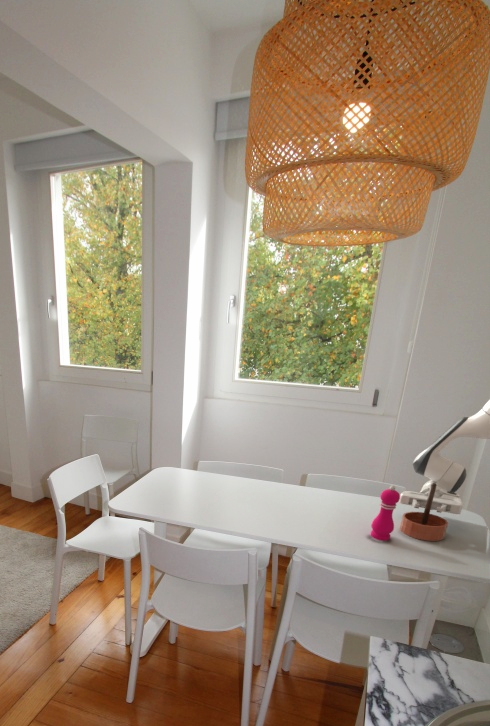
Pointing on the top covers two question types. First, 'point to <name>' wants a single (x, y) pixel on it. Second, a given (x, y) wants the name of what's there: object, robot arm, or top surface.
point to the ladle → (428, 504)
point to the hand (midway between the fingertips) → (427, 508)
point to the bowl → (423, 526)
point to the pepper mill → (385, 515)
